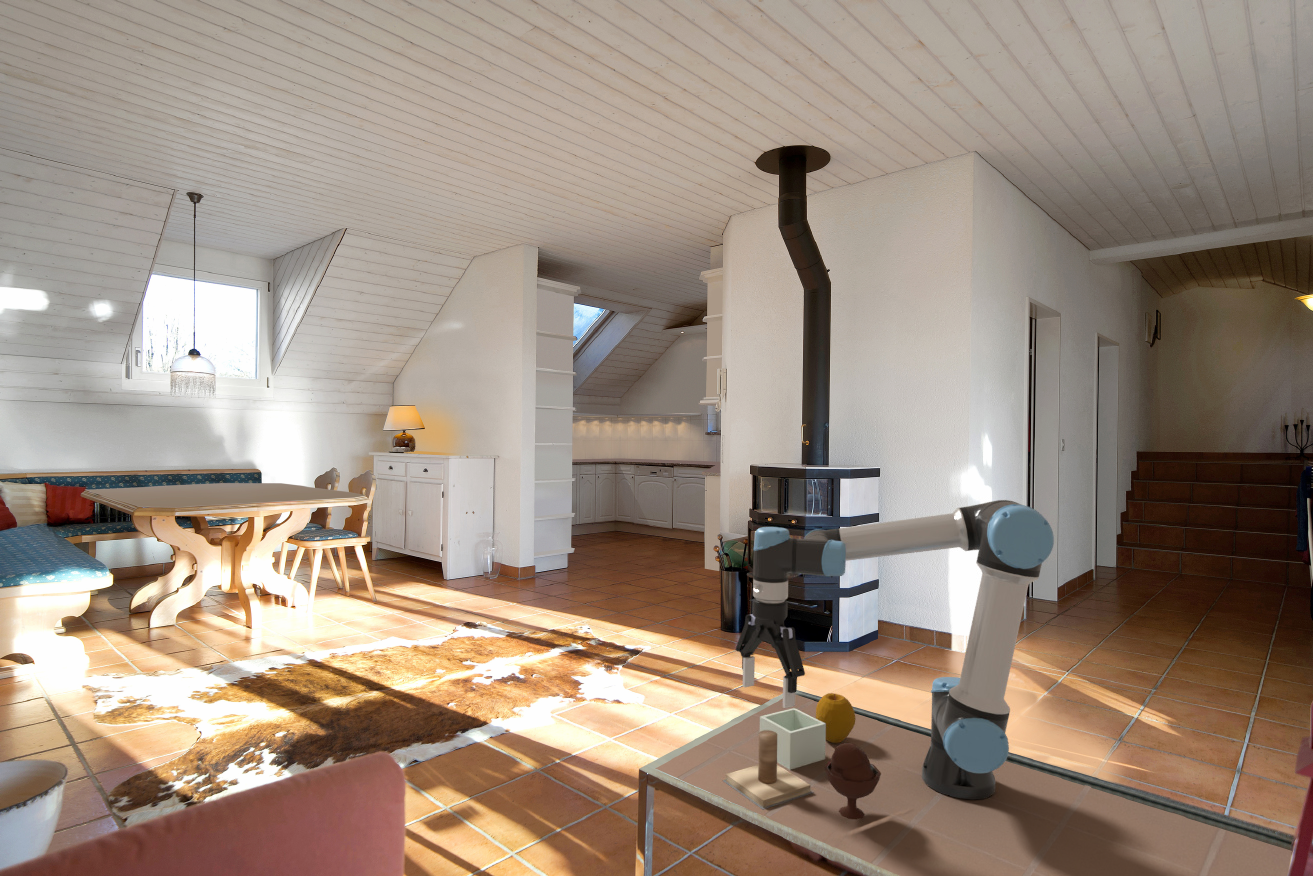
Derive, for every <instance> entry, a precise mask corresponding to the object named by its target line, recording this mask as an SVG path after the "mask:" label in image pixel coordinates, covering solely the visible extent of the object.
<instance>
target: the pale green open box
mask: <svg viewBox="0 0 1313 876" xmlns="http://www.w3.org/2000/svg"><path fill="white" fill-rule="evenodd" d="M764 730H770V731H774V732H776V733H777V764H779V765H781V766H783V768H786V769H787V770H789V771H790V770H794V769H798V768H800V767H804V766H808V765H810V764H814V763H817V762H820V761H823V760H826V741H827V740H826V724H825V723H823V722H821V721H819V720H817V719H816V717H813V716H811V715H809V714H807V713H806V712H804V711H801V710H799V709H797V708H795V707H793V708H792V707H791V708H787V709H785V710H781V711H776V712H773V713H768V714H765V715H760V716H759V732H760V731H764Z"/></svg>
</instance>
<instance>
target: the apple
mask: <svg viewBox="0 0 1313 876" xmlns="http://www.w3.org/2000/svg"><path fill="white" fill-rule="evenodd" d="M855 713H856V712H855V710H854V708H853V705H852V704H851V702H850V700H848V698H847V697H845V696H843V695H841V694H839V693H833V692H830V693H829V692H828V693H826V694H824V695H823V696H822V697H821V698H820V699H819V701H818V702H817V704H816V707H815V719H817V720H819V721H821V722H823V723H825V724H826V741H828V742H829V743H832V744H840V743H842V742H843V741H845V740H846V739H847V737H848V736H849V735H850V733H851V732H852V730H853V729H854V726H855V724H856V714H855Z"/></svg>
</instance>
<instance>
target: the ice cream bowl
mask: <svg viewBox="0 0 1313 876" xmlns="http://www.w3.org/2000/svg"><path fill="white" fill-rule="evenodd" d="M868 756H869V755H868V754H867V753H865V751H863V750H862V749H861V748H860V747H858V746H857V745H856V744H855V743H852V742H849V743H848V742H844V743H842V744H841V743H840V744H839V745H837V746H836V747H835V748H834V751H833V753H832V756H831V759H829V760H828V761H827V762H826V764H825V765H824V767H823V768H824V772H825V776H826V778H827V780H828V782H829V784H830V785H831V786H832V788H833V789H834V790H835V791H836V793H838V794H840V795H841V796H843V797H846V799H847V803H846V804H847V805H846V806H845V805H844V806H843V807H840V808H839V810H838V813H839V814H840V815H841V816H842V817H844V818H845V819H848V820H855V821H857V820H860V819H861V820H862V819H863V818H864V817H865V813H864V811H863V810H862V809H860V808H858V807H857V799H861V798H864V797H867V796H869V795H870V794H872V793H873V792H874V791H875V789H876V787H877V785H878V783H879V781H880V779H881V774H882V772H881V771H880V769H878V768H877V767H876V765H875V764H873V763H871V762H870V759H869V757H868Z"/></svg>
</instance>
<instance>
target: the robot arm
mask: <svg viewBox="0 0 1313 876" xmlns="http://www.w3.org/2000/svg"><path fill="white" fill-rule="evenodd" d="M753 542H754V543H753V568H752V569H753V574H752V575H753V578H752V579H753V581H752V582H753V585H752V587H753V588H752V597H754V598H753V599H752V608H751V609H752V614H746V615H745V619H744V624H743V628H742V631H741V633H740V636H739V638H738V641H737V643H736V647H735V651H736V652H738V653H740V656H741V659H742V660H741V669H742V687H743V688H748V687H753V686H755V665H756V663H755V662H756V661H755V659H756V657H755V656H754V655H755V653H754V652H755V651H756V650H757V649H758V648H759V646H760V644H761V643H762V642H766V643H767V644H770V646H771V648H772V649H774V650H775V652H776V655H777V657H778V659H779V663H780V664H781V666H782V669H783V671H784V673H785V675H784V676H782V677H783V678H782V681H783V682H782V708H784V709H790V708H792V707H793V708H794V707H796V705H795V704H796V693H797V690H798V678H799V677H803V676H805V674H806V672H805V669H804V665H803V661H802V657H801V654H800V651H799V647H798V644H797V640H796V629H795V628H794V627H786V626H785V620H786V618H787V617H788V606H789V605H788V601H787V599H788V598H789V574H794V575H795V574H800V575H812V576H825V577H828V578H829V577H842V576H844V575H845V573H846V567H847V566H846V565H847V564H846V562H848V561H856V560H865V559H872V558H878V557H879V558H880V557H887V556H888V557H890V556H897V555H904V554H914V553H922V552H930V551H931V552H932V551H938V550H939V551H940V550H947V549H955V548H957V549H958V548H960V549H961V550H963V551H965V552H970V551H978V553H977V558H976V565H977V566H978V567H979V569H980V571H981V579H980V584H979V588H978V593H977V597H976V601H975V602H976V603H975V606H974V612H973V615H972V621H971V626H970V629H969V636H968V638H967V639H968V640H967V646H966V649H965V653H964V659H963V663H962V664H963V665H962V668H961V673H960V677H958V676H940V677H937V678H934V680H933V681H932V685H931V686H932V687H931V690H930V693H931V720H930V721H931V723H930V725H931V726H930V729H931V730H930V736H931V737H930V745H929V748H928V751H927V753H926V755H925V758H924V761H923V763H922V768H921V769H922V770H921V771H922V772H921V778H922V780H923V782H924V783H925V784H926V786H928V787H929V788H931V789H932V790H935V791H936V792H938V793H940V794H943V795H945V794H946V796H948V795H950V796H949V797H953V798H957V799H962V800H963V799H964V800H983V799H987V798H990V797H991V796H990V795H991V794H993V793H994V794H995V792H996V777H995V774H994V773H993V771H995V770H997V769H999V768H1000V767H1002V766H1003V765H1004V763H1005V762H1006V761H1007V759H1008V756H1009V751H1010V745H1009V739H1008V736H1007V734H1006V731H1007V727H1008V722H1009V716H1010V712H1011V708H1010V706H1009V703H1007V702H1006V700H1005V695H1006V691H1007V690H1006V689H1007V685H1008V682H1009V676H1010V672H1011V666H1012V662H1013V659H1014V658H1013V657H1014V652H1015V649H1016V644H1017V638H1018V636H1019V635H1018V634H1019V630H1020V625H1021V622H1022V616H1023V611H1024V607H1025V602H1026V597H1027V593H1028V587H1029V585H1030V584H1031V583H1033V582H1035V581H1037V580H1038V579H1040V574H1041V569H1042V565H1043V563H1044V562H1045V561H1046V560H1048V558H1049V556H1051V554H1052V551H1053V549H1054V543H1055V535H1054V532H1053V528H1052V527H1051V524H1050V523H1049V522H1048V520H1047V519H1046V518H1045V517H1044V516H1043V515H1042V514H1041V513H1040V512H1039V511H1037V510H1036V509H1034V508H1032V507H1031V506H1027V505H1024V504H1021V503H1019V502H1016V501H1013V500H1008V499H997V500H994V501H988V502H984V503H979V504H973V505H968V506H962V507H957V508H956V509H955V510H954V511H953V512H952V513H945V514H937V515H929V516H921V517H916V518H915V517H914V518H908V519H907V518H906V519H901V520H894V521H892V520H891V521H885V522H879V523H878V522H877V523H870V524H862V525H855V526H848V527H847V526H846V527H841V528H833V529H827V530H826V529H822V528H820V529H819V528H818V529H817V528H816V529H813V530H810V531H809V532H808V533H807V534H805V536H804V537H803V538H796V537H795V538H794V537H791V535H790V531H789V529H788V528H784V527H778V526H763V527H759V528H758V529H756V530H755V532H754V541H753ZM994 791H995V792H994ZM994 794H993V795H994ZM989 796H990V797H989ZM986 797H987V798H986Z"/></svg>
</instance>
